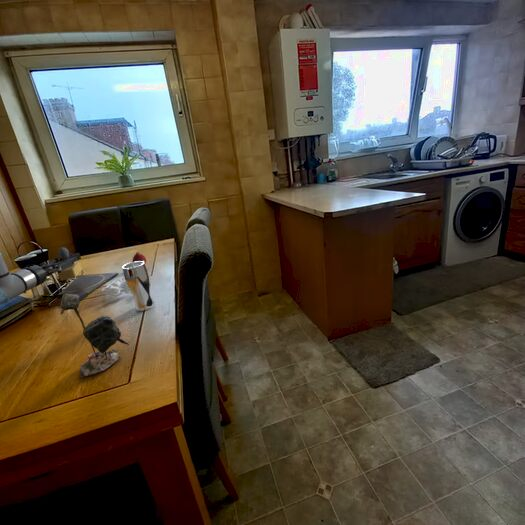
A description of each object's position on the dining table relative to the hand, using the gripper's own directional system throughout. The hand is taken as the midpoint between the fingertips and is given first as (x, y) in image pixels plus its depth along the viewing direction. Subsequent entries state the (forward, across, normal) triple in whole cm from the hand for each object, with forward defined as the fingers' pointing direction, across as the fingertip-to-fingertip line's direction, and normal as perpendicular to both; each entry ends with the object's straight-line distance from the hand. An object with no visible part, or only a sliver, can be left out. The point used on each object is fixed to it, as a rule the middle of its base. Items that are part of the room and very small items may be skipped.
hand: (76, 256), depth 120 cm
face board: (-5, +3, -11) cm, 13 cm away
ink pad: (-19, +10, -11) cm, 24 cm away
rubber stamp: (-5, 0, -7) cm, 9 cm away
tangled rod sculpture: (-11, +26, -12) cm, 31 cm away
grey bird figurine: (-54, +47, -12) cm, 73 cm away
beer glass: (-27, +43, -12) cm, 53 cm away
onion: (+11, +21, -12) cm, 27 cm away
